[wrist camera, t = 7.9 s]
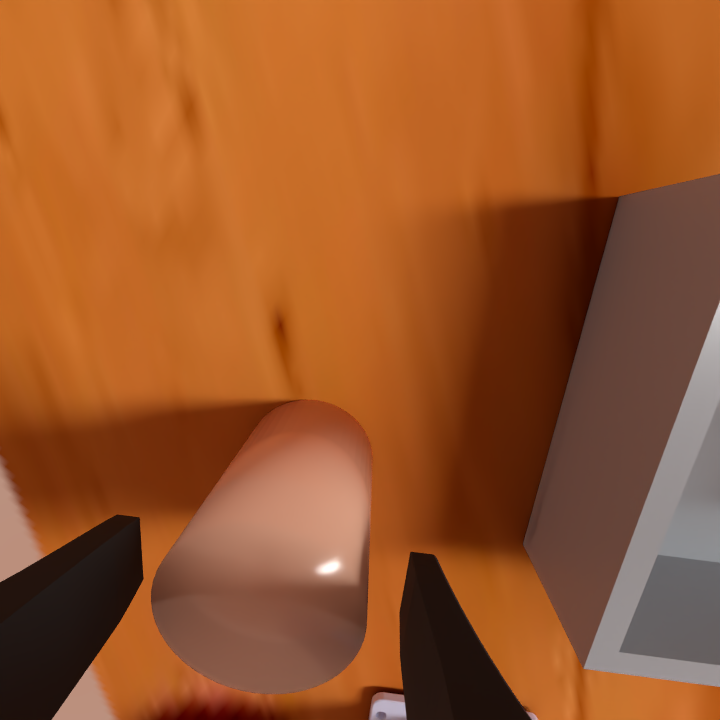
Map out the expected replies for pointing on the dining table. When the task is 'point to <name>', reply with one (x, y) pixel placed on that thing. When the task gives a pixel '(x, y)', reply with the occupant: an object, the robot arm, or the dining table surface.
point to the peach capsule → (276, 557)
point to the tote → (642, 450)
